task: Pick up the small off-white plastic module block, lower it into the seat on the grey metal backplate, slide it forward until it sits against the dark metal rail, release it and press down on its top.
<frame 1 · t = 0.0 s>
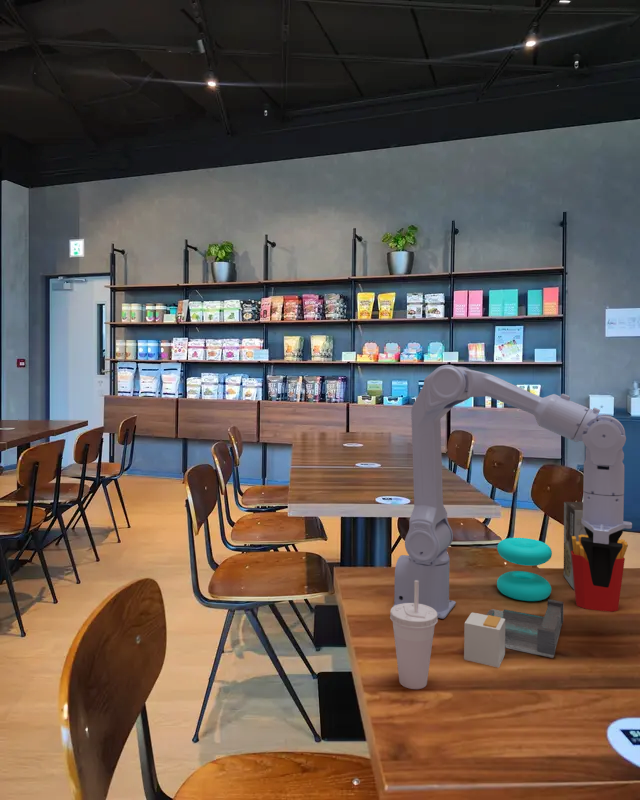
hand: (601, 578, 89), 10 cm above the table, tool pointing down, fingers open, 7 cm apart
french fries: (597, 607, 104), on the table
smoothie: (413, 683, 77), on the table
module: (484, 657, 84), on the table
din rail: (537, 636, 91), on the table
donuts: (523, 594, 110), on the table
coffee box: (583, 584, 116), on the table
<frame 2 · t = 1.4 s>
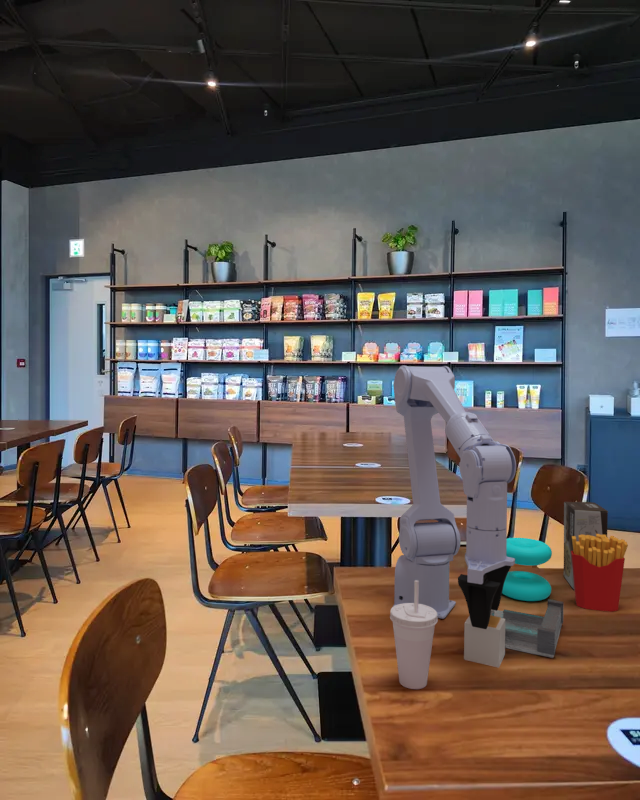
hand: (485, 617, 84), 6 cm above the table, tool pointing down, fingers open, 7 cm apart
nothing on the table moved.
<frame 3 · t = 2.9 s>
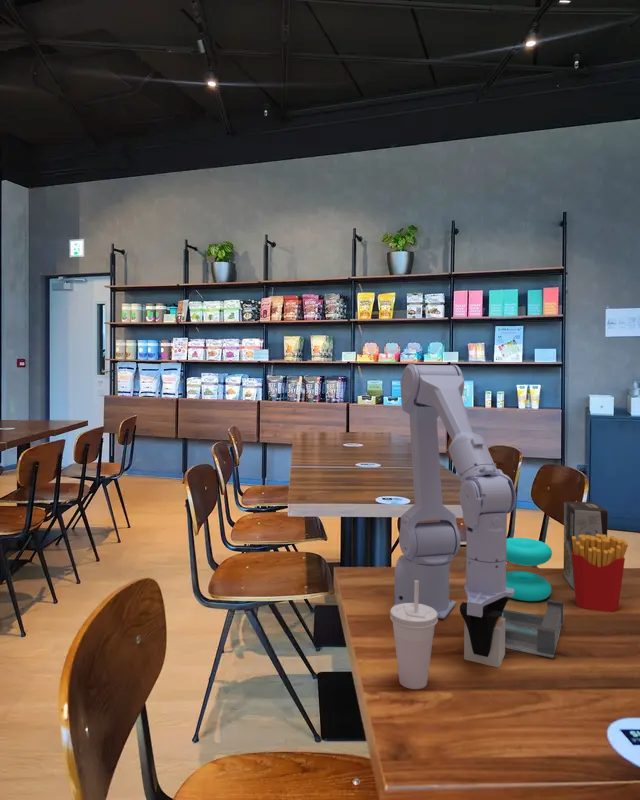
hand: (484, 647, 84), 1 cm above the table, tool pointing down, fingers closed on module, 4 cm apart
module: (484, 656, 84), on the table, touching gripper
everything else where it was.
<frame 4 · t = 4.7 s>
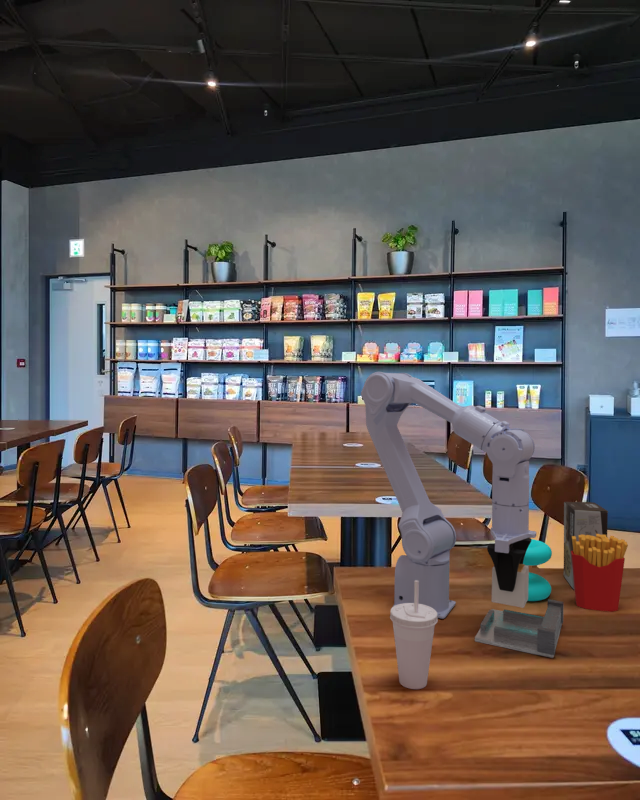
hand: (509, 585, 93), 8 cm above the table, tool pointing down, fingers closed on module, 4 cm apart
module: (510, 600, 93), point 5 cm above the table, touching gripper
everything else where it was.
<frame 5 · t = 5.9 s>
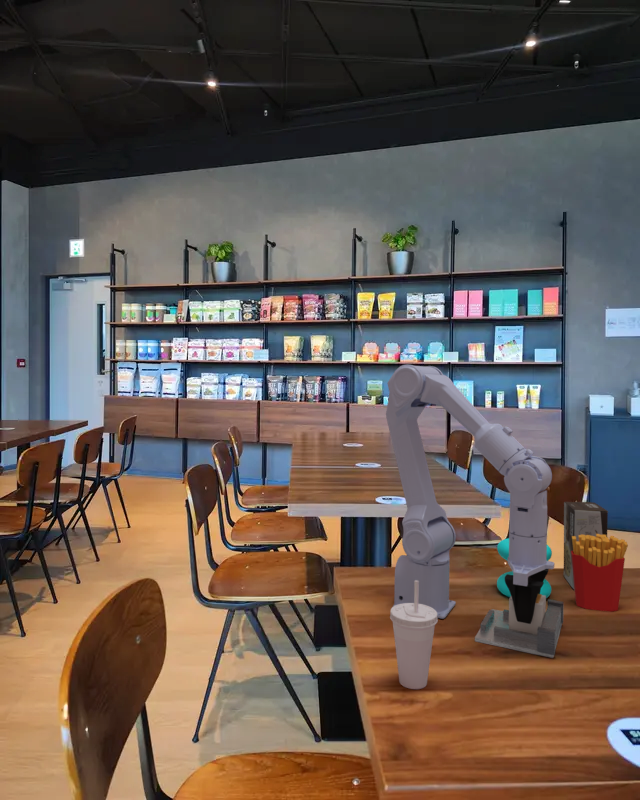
hand: (526, 616, 91), 3 cm above the table, tool pointing down, fingers closed on module, 4 cm apart
module: (527, 631, 91), point 1 cm above the table, touching gripper
everything else where it was.
when the fingers open (3 cm above the table, at t = 6.7 s): module stays where it is, resting on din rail.
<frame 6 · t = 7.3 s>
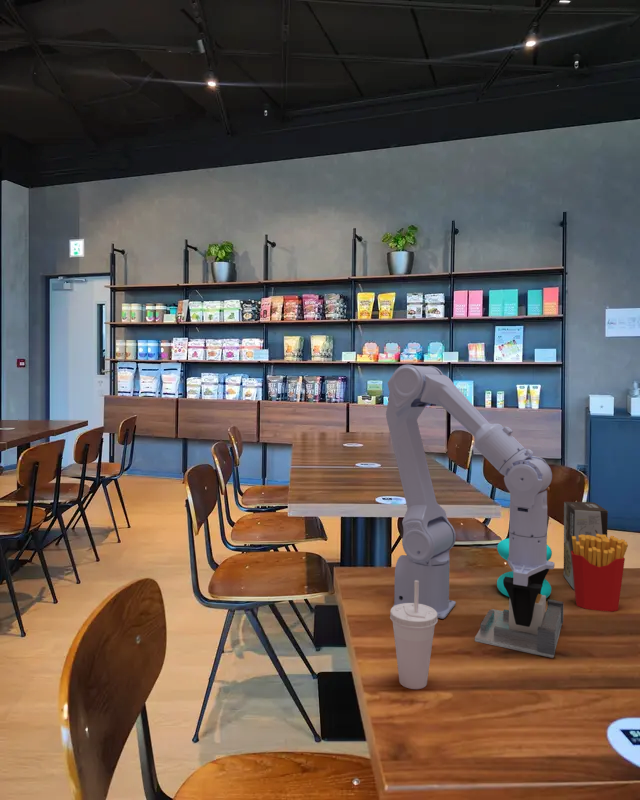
hand: (526, 616, 91), 3 cm above the table, tool pointing down, fingers open, 7 cm apart
module: (527, 630, 92), point 1 cm above the table, touching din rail
everything else where it was.
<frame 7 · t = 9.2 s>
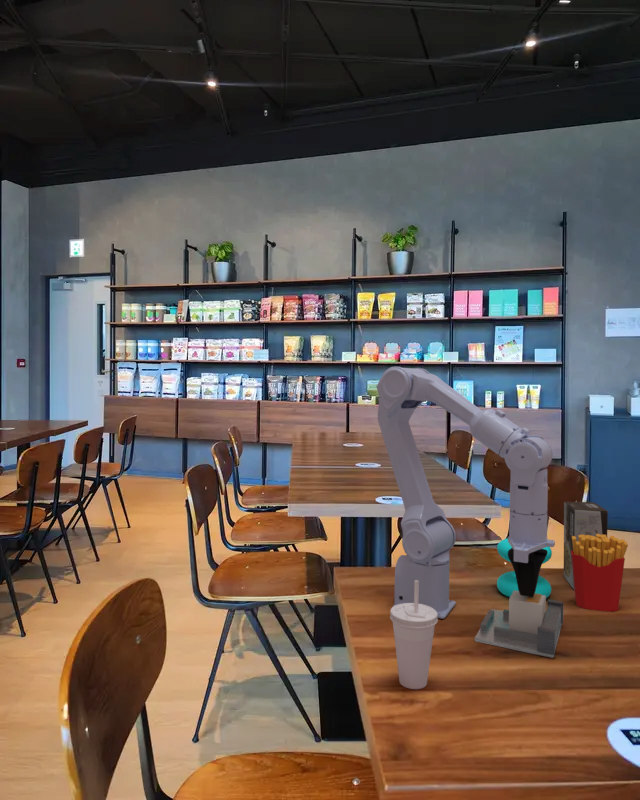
hand: (527, 594, 91), 7 cm above the table, tool pointing down, fingers closed
nothing on the table moved.
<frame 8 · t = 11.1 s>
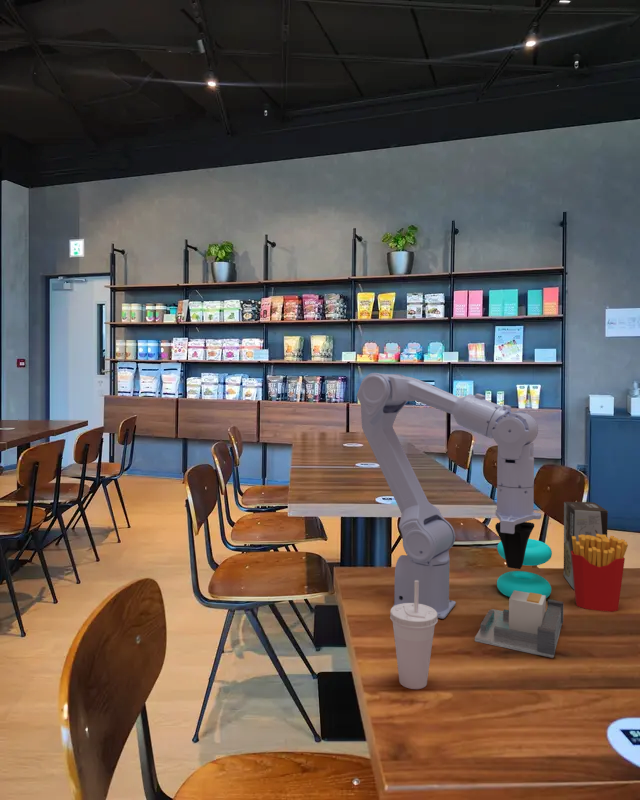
hand: (514, 567, 93), 10 cm above the table, tool pointing down, fingers closed
nothing on the table moved.
at the end: module 0.3 cm from the target spot on the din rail, point 0.6 cm above the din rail's base; module tilted 0°; the gripper is holding nothing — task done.
